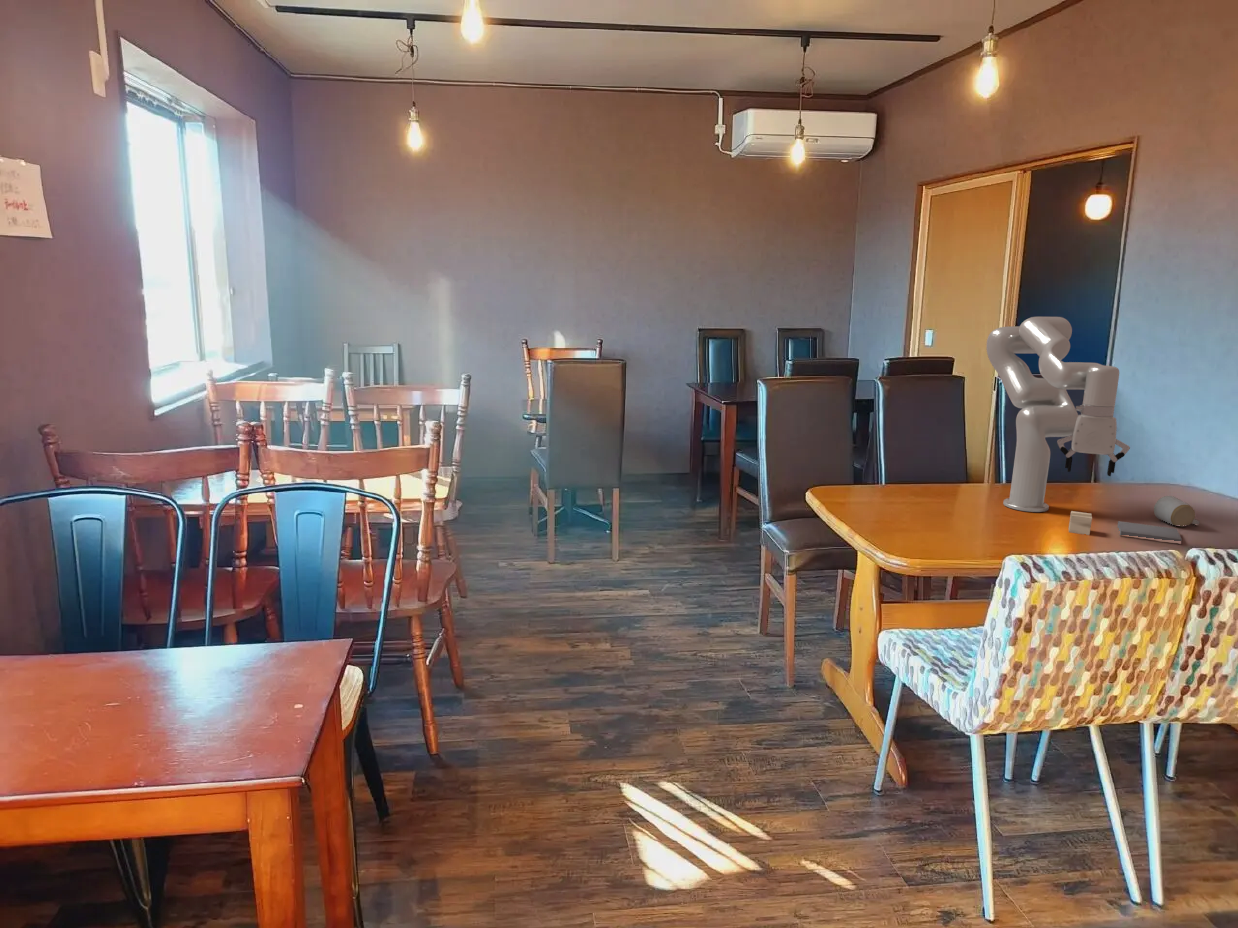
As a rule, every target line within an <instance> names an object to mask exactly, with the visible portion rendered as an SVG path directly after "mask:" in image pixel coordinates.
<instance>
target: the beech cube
mask: <svg viewBox="0 0 1238 928" xmlns="http://www.w3.org/2000/svg"><path fill="white" fill-rule="evenodd" d="M1069 516H1070V517H1069V523H1068V533H1072V534H1078V535H1084V534H1086V535H1087V536H1090V533H1091V528H1092V527H1091V526H1092V522H1093V516H1092V513H1087V512H1081V511H1073V510H1071V511H1070V515H1069ZM1086 535H1085V536H1086Z"/></svg>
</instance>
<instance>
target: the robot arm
mask: <svg viewBox="0 0 1238 928" xmlns="http://www.w3.org/2000/svg"><path fill="white" fill-rule="evenodd" d="M1072 332H1073V327H1072V325H1071V323H1070V322H1069V320H1068V319H1066V318H1064V317H1063V316H1031V317H1029V318H1027V319H1025V320H1023V322H1021V324H1020V325H1019V326H1014V325H1013V326H1002V327H997V328H995V329H993V330H992V331H990V333H989V334H988V337H987V339H986V354H987V357H988V360H989V362H990V364H991V366H992V368H993V369H994V370H995V371H996V373H997V374H998V376H999V378H1000V380H1001V383H1002V385H1003V386H1004V389H1005V391H1006V393H1007V397H1009V399H1010V401H1011V403H1012V405H1013V406H1014V407H1016V408H1018V409H1020V410H1019V411H1018V413H1017V415H1016V418H1015V427H1016V428H1015V429H1016V444H1015V454H1014V461H1013V469H1012V477H1011V483H1010V484H1011V485H1010V492H1009V497H1008V498H1005V499H1003V506H1004V507H1007V508H1009V509H1013V510H1017V511H1021V512H1028V513H1029V512H1030V513H1031V512H1032V513H1042V512H1047V511H1049V507H1050V506H1049V504H1047V503H1046V502H1045V498H1046V497H1045V495H1046V491H1047V489H1046V488H1047V482H1048V481H1047V480H1048V475H1049V468H1050V459H1051V448H1050V446H1049V444H1048V441H1047V440H1046V438H1059V439H1057V441H1056V443H1057V446H1058V447H1059V450H1060V452H1061V453H1062V454H1064V456H1065V457H1066V459H1065V464H1064V469H1067V472H1068V473H1071V470H1072V463H1073V455H1074V454H1076V453H1081V454H1082V453H1083V454H1092V455H1103V456H1104V455H1105V456H1108V457H1109V460H1108V464H1107V465H1108V466H1107V473H1106V475H1107V476H1108V477H1111V476H1112V474H1114V473H1115V470H1116V469H1115V468H1116V463H1117V462H1118V461H1119V460H1120V459H1122V458H1123V457H1125V455H1127V453H1128V452H1129V450H1130V449H1131V447H1130V446H1129V445H1128V444H1127V443H1125V442H1122V441H1121V440H1119V439H1117V426H1118V425H1117V418H1116V417H1114V413H1115V407H1116V399H1117V393H1118V392H1117V391H1118V385H1119V380H1120V369H1119V368H1118V367H1116V366H1113V365H1103V364H1101V363H1098V362H1081V361H1080V362H1078V361H1077V362H1076V361H1075V362H1074V361H1073V362H1072V361H1069V362H1068V361H1067V362H1064V361H1063V359H1065V357H1066V356H1067V355H1068V354H1069V352H1070V349H1071V343H1070V339H1071V337H1072V334H1073V333H1072ZM1016 354H1037V356H1038V357H1039V358H1038V370H1039V373H1040V375H1041V377H1036V376H1034V375H1033V374H1032V372H1031V370H1030V367H1029V366H1028V365H1027V363H1026V362H1025V361H1024V360H1023V359H1022V358H1020V357H1019V356H1018V355H1016ZM1067 390H1084V392H1083V397H1082V398H1083V401H1082V404H1081V405H1076V406H1075V404H1074V403H1073V401H1072V399H1071V397H1070V395H1069V394H1068V391H1067ZM1078 412H1080V414H1079V413H1078ZM1060 437H1061V438H1060ZM1070 441H1071V448H1070V449H1067V448H1066V447H1065V443H1069V442H1070ZM1116 446H1118V447H1119V448H1121V450H1120V451H1119V452H1118V453H1116V454H1114V452H1115V448H1116Z"/></svg>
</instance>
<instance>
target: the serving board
mask: <svg viewBox="0 0 1238 928" xmlns="http://www.w3.org/2000/svg"><path fill="white" fill-rule="evenodd" d="M1118 528H1119V530H1118V532H1119V531H1120V534H1119V536H1120V535H1129V536H1138V537H1146V538H1154V539H1162V540H1174V541H1183V540H1182V537H1181V535H1180V533H1179V531H1178V529H1177V528H1173V527H1165V526H1159V525H1158V526H1157V525H1151V524H1144V523H1135V522H1128V521H1120V520H1118V521H1117V529H1118Z"/></svg>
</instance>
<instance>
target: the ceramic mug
mask: <svg viewBox="0 0 1238 928" xmlns="http://www.w3.org/2000/svg"><path fill="white" fill-rule="evenodd" d="M1153 512H1154V516H1155V517H1156V518H1157V519H1158V520H1160V519H1161V520H1160V521H1162V520H1163V521H1162V522H1164V521H1165V522H1164V523H1166V522H1167V523H1166V524H1169V523H1170V524H1169V525H1171V524H1172V525H1171V526H1173V525H1180V526H1183V525H1184V526H1185V525H1188V526H1189V525H1191V524H1192V525H1193V524H1198V525H1199V524H1200V520H1197V519H1196V511H1195V509H1194V507H1192V505H1190V504H1188V503H1187V502H1185V501H1183V500H1181V499H1180V498H1178V497H1176V496H1173V495H1165V496H1162V497H1160V498H1159V499H1158V500H1157V501H1156V502H1155V504H1154V507H1153Z"/></svg>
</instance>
